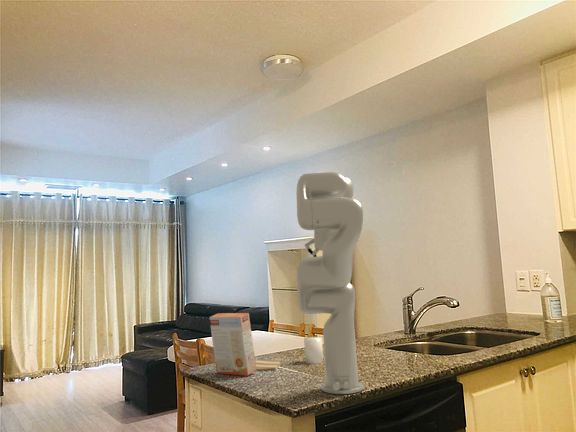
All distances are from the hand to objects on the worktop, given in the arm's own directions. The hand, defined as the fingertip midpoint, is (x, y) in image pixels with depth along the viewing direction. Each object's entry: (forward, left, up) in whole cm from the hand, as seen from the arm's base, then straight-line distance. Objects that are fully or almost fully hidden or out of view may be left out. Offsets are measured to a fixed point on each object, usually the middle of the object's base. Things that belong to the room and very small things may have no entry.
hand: (329, 266), depth 156 cm
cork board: (+11, +31, -37) cm, 49 cm away
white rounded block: (+17, +9, -37) cm, 41 cm away
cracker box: (-1, +36, -36) cm, 51 cm away
